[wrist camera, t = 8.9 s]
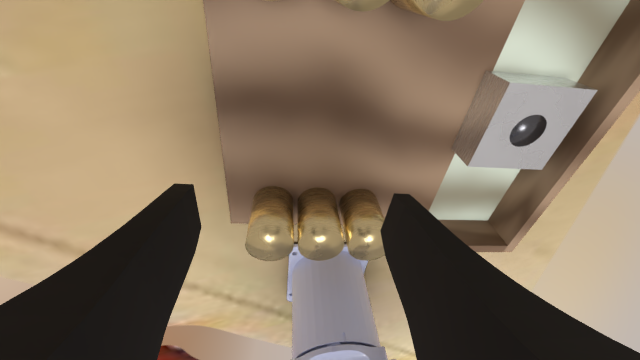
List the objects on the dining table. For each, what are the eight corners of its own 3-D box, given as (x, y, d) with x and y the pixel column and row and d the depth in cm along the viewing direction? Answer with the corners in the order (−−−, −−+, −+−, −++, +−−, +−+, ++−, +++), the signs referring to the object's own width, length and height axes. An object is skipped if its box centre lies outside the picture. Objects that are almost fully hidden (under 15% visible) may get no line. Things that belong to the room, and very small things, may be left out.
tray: (487, 222, 27) (511, 252, 24) (232, 218, 24) (224, 251, 21) (659, -42, 15) (748, -46, 12) (192, -118, 12) (159, -148, 9)
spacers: (372, 217, 24) (386, 260, 20) (253, 215, 23) (246, 260, 19) (457, -66, 13) (519, -81, 9) (235, -101, 12) (211, -133, 8)
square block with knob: (519, 152, 21) (541, 169, 19) (451, 148, 20) (467, 166, 18) (564, 77, 18) (598, 90, 16) (485, 70, 17) (510, 82, 15)
